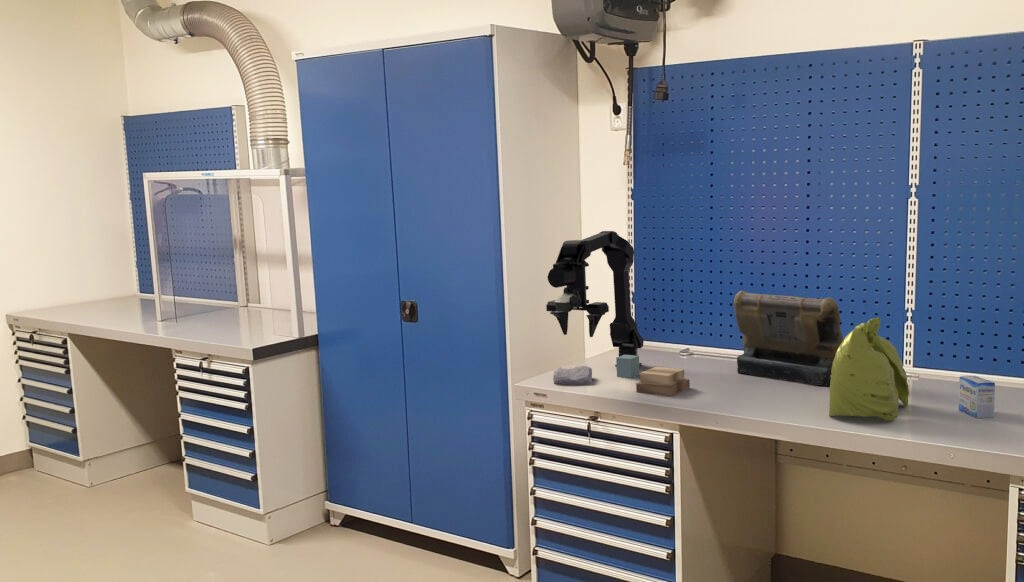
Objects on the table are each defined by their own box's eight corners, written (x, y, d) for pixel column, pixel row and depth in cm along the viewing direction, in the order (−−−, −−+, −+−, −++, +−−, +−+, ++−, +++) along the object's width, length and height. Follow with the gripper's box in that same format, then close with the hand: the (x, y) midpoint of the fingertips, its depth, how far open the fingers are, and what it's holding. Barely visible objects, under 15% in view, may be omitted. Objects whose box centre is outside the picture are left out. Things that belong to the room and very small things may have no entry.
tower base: (655, 385, 263) (655, 375, 263) (689, 389, 257) (689, 379, 256) (636, 393, 255) (636, 383, 254) (671, 398, 248) (670, 387, 248)
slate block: (625, 373, 279) (624, 354, 278) (639, 375, 276) (638, 355, 275) (616, 376, 275) (616, 357, 274) (631, 378, 272) (630, 359, 271)
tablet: (854, 378, 258) (854, 292, 255) (834, 388, 248) (833, 299, 245) (750, 366, 280) (749, 286, 277) (728, 375, 270) (726, 292, 267)
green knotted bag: (889, 429, 209) (889, 326, 206) (821, 420, 218) (821, 322, 215) (914, 404, 229) (915, 310, 226) (852, 397, 238) (852, 307, 235)
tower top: (656, 376, 261) (656, 366, 261) (684, 379, 256) (684, 369, 255) (640, 383, 254) (640, 372, 254) (668, 386, 249) (668, 375, 248)
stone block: (592, 390, 267) (592, 376, 276) (591, 375, 265) (591, 362, 275) (552, 393, 268) (554, 378, 277) (551, 378, 267) (552, 364, 276)
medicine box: (957, 410, 221) (958, 375, 220) (975, 409, 222) (975, 374, 221) (977, 418, 214) (977, 383, 212) (994, 417, 214) (995, 381, 213)
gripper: (534, 285, 263) (536, 338, 265) (587, 288, 251) (589, 343, 253) (556, 281, 271) (558, 332, 273) (608, 283, 260) (610, 336, 262)
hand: (578, 335), depth 265 cm, fingers open, 9 cm apart
